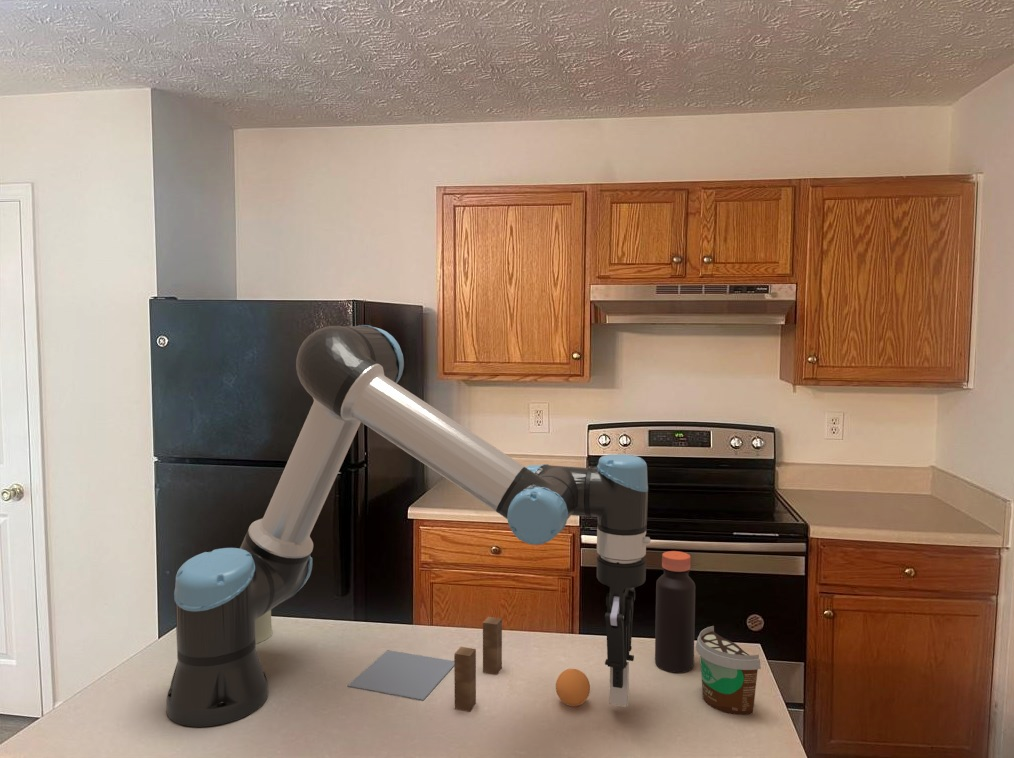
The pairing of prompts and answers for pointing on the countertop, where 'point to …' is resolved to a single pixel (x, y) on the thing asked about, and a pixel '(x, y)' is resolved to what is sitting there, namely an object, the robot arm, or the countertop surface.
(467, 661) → the post
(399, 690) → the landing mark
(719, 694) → the food container
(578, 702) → the ball
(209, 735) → the countertop surface
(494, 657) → the post
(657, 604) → the bottle
